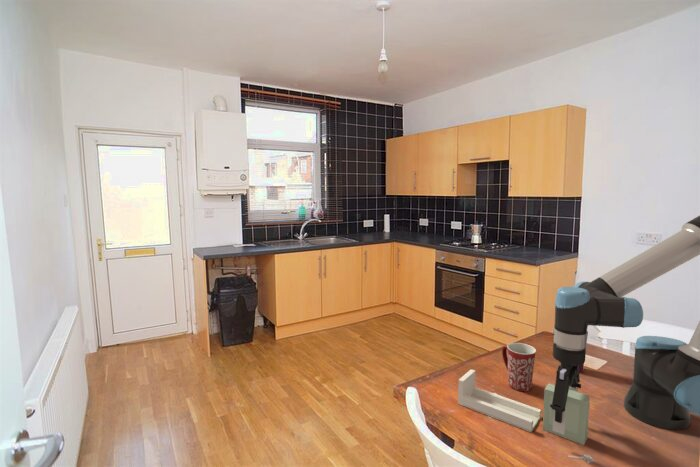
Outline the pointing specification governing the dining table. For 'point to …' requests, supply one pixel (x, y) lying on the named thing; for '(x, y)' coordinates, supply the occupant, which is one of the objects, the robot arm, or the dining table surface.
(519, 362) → the mug
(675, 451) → the dining table surface
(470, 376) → the track
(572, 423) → the door panel
